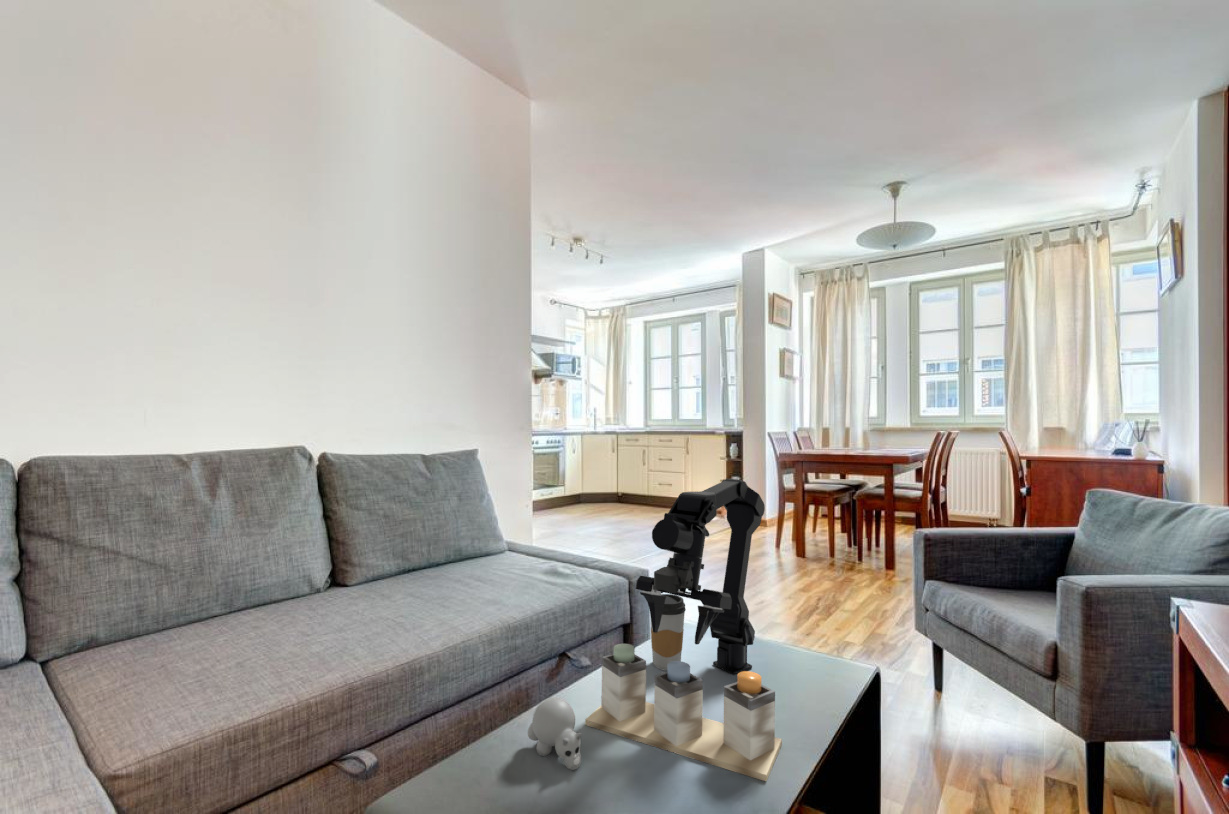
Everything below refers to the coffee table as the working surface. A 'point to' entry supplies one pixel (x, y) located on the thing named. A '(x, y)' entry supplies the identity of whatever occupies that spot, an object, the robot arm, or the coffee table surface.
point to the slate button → (678, 671)
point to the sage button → (624, 653)
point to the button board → (691, 748)
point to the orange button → (749, 682)
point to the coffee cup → (669, 632)
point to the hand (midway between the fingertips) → (675, 638)
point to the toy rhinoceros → (556, 731)
